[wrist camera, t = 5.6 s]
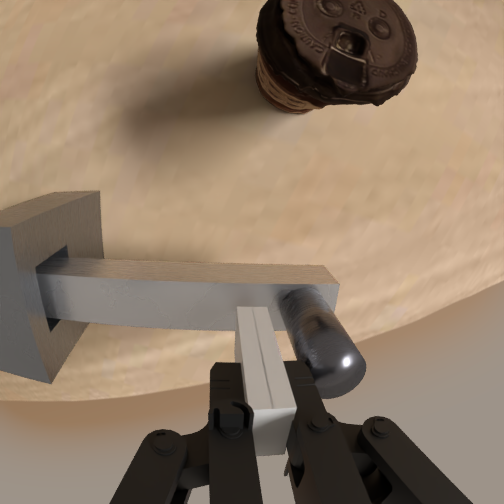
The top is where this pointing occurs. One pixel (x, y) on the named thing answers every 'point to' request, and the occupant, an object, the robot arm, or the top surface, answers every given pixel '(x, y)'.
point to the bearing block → (26, 284)
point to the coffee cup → (333, 52)
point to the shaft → (210, 304)
